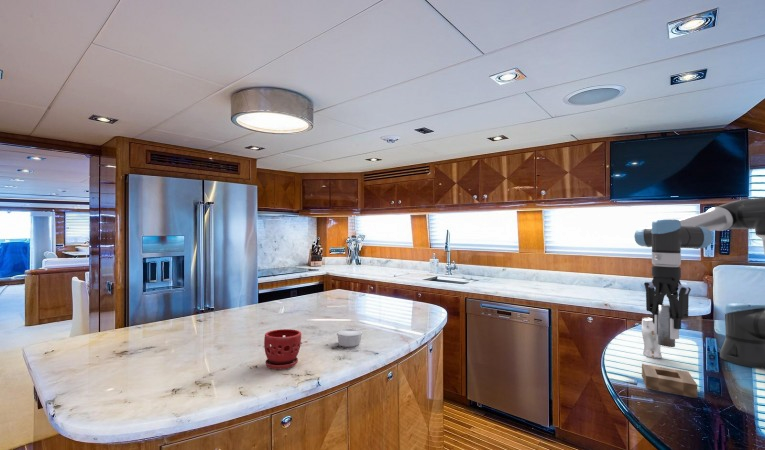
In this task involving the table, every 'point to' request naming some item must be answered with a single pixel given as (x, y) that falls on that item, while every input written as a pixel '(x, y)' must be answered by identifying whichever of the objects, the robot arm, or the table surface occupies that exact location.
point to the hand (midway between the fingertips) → (666, 336)
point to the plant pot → (282, 348)
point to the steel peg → (664, 326)
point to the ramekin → (349, 337)
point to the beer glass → (650, 339)
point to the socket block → (669, 380)
